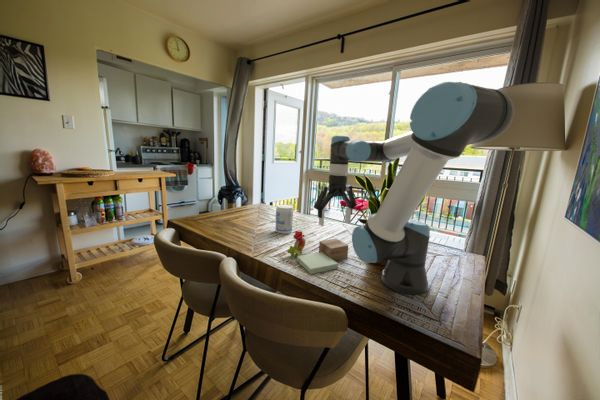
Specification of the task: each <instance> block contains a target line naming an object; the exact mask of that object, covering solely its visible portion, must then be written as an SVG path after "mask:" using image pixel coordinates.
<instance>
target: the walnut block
mask: <svg viewBox="0 0 600 400" xmlns="http://www.w3.org/2000/svg"><path fill="white" fill-rule="evenodd" d="M320 252H323V253H324V254H325V255H327V256H328V257H330V258H331V259H332V260H334V261H335V262H337V261H340V260H344V259H348V255H349V245H348V244H347V243H345V242H343V241H341V240H340V239H338V238H332V239H325V240H319V244H318V253H320Z"/></svg>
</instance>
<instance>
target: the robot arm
mask: <svg viewBox="0 0 600 400" xmlns="http://www.w3.org/2000/svg"><path fill="white" fill-rule="evenodd" d="M514 106H515V105H514V103H513V100H512V99H511V98H510V96H509V95H508V94H506V93H505V92H504V91H501V90H498V89H494V88H488V87H487V88H486V87H482V86H478V85H473V84H470V83H468V82H467V83H466V82H461V81H459V82H458V81H456V82H454V81H443V82H439V83H437V84H435V85H433V86H431V87H429V88H428V89H426V90H425V91H424V92H423V93H422V94H420V96H419V97H418V98H417V100H416V102H415V103H414V104H413V107H412V109H411V111H410V116H409V120H411V121H410V122H409V127H410V131H408V132H405V133H402V134H399V135H397V136H394V137H391V138H388V139H386V140H383V141H368V140H367V141H365V140H361V139H355V140H351V137H350V136H349V135H333V136H332V137H331V142H330V153H329V154H330V155H329V175H328V186H325V185H322V186H321V189H320V193H319V195H318V197H317V199H316V201H315V203H314V205H313V208H314V209H315V210H317V218H318V225H319V226H321V227H324V225H325V223H324V222H325V208H326V207H327V206H328V204H329V202H331V200H332V199H333V198H337V197H339V198H340V197H341V198H342V199H343V201H344V202H345V204H346V206H347V207H345V216H344V217H345V219H344V220H345V221H344V222H345V223H348V224H351V217H352V215H353V209H355V207H357V205H358V204H357V201H356V198H355V195H354V191H353V186H352V185H348V184H347V183H348V173H349V172H348V171H349V162H353V163H362V162H364V163H365V162H367V163H368V162H370V163H372V162H373V163H374V162H376V163H377V162H378V163H392V162H395V161H396V160H397V159H399V158H403V157H406V158H405V159H404V161H403V164H402V165H401V167H400V169H399V171H398V172H397V175H396V177H395V178H394V180H393V182H392V184H391V186H390V187H389V190H388V191H387V194H386V195H385V197H384V199H383V201H382V203H381V204H380V206H379V208H378V209H377V212H376V213H372V214H371V215H370V216H368V218H367V220H366V222H365V224H364V225H358V226H356V227H354V229H353V231H352V233H351V243H352V247H353V250H354V253H355V255H356V257H357V258H358V259H359V260H360V261H361V262H363V263H365V264H369V263H370V264H371V263H373V264H375V263H380V262H381V263H382V262H385V261H387V262H386V263H385V266H384V268H383V270H382V273H381V281H382V284H384V285H385V286H386V287H388V288H390V289H391V290H393V291H396V292H397V293H398V292H399V293H401V294H406V295H423V294H424V293H427V291H428V288H429V280H428V276H427V270H426V261H427V254H428V247H429V243H430V242H429V241H430V238H431V233H430V231H431V228H430V225H428V224H427V223H425V222H422V221H420V220H417V219H413V218H412V216H413V214H414V213H415V211H416V210H417V208H418V207H419V205H420V204H421V203H422V201H423V199H424V198H425V196H426V195H427V193H428V192H429V190H430V189H431V187H432V185H433V184H434V182H435V181H436V180H437V178H438V177H439V175H440V173H441V172H442V170H443V169H444V167H445V166H446V164H447V163H448V162H449V161H450V160H453V159H457V158H460V157H461V155H462V153H463V152H464V151H465V149H466V147H467V146H471V145H474V144H481V143H487V142H490V141H492V140H495V139H496V138H498V137H499V136H501V135H502V134H504V133H505V132H506V131H507V130H508V128H509V127H510V126H511V124H512V122H513V120H514V116H515V107H514Z"/></svg>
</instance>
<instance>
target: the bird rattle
mask: <svg viewBox="0 0 600 400" xmlns="http://www.w3.org/2000/svg"><path fill="white" fill-rule="evenodd" d="M294 233H295V234H293V239H295V242H294V245H290V246H289V248H288V249H287V253H288V254H290V255H291V256H294V255H297V256H302V254H301V253H302V252H303V250H304V248H305V245H306V238H305V234H303V231H299V230H295V231H294Z"/></svg>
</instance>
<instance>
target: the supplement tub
mask: <svg viewBox="0 0 600 400" xmlns="http://www.w3.org/2000/svg"><path fill="white" fill-rule="evenodd" d="M275 209H276V212H275V232H276V233H278V234H285V235H288V234H291V233H292V232H293V226H294V225H293V224H294V206H293V205H290V204H278V205H276V208H275Z"/></svg>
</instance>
